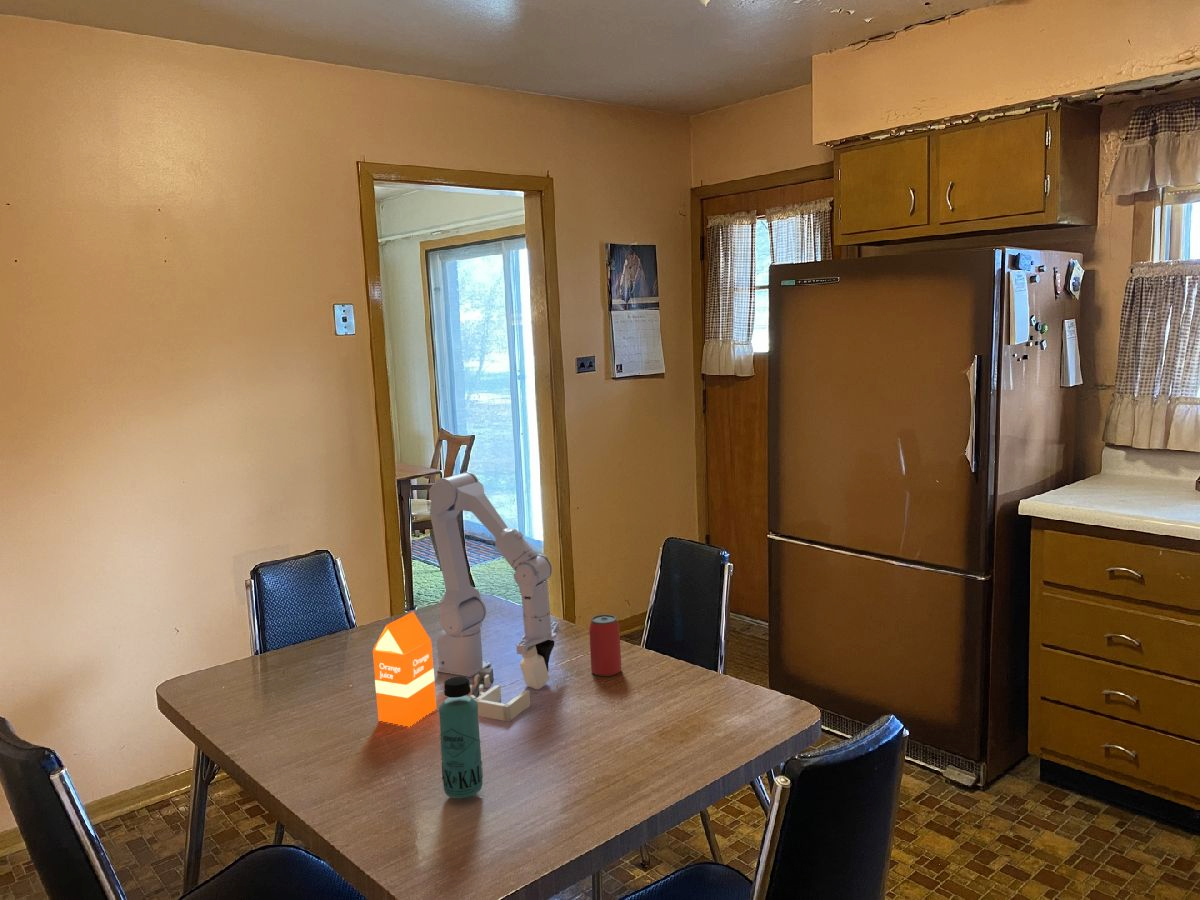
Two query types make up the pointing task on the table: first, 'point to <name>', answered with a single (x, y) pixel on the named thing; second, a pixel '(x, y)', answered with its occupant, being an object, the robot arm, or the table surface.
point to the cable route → (483, 673)
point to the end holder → (501, 704)
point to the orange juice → (404, 672)
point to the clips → (481, 687)
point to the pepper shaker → (534, 669)
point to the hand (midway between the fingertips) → (541, 674)
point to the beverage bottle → (460, 740)
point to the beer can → (605, 645)
